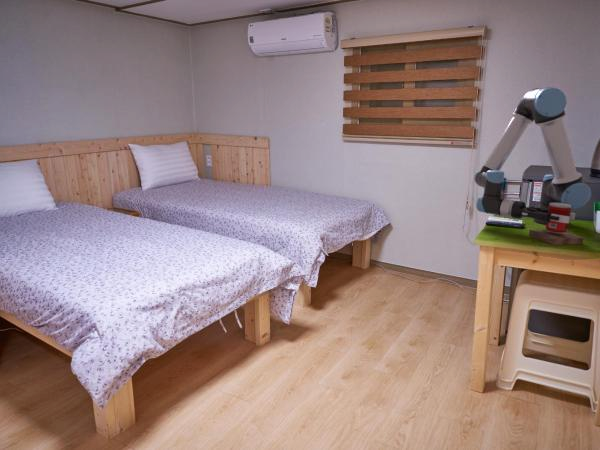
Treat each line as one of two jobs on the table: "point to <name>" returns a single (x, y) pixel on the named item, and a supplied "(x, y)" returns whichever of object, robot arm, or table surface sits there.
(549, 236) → the walnut base
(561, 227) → the canned food
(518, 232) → the table surface
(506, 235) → the table surface
